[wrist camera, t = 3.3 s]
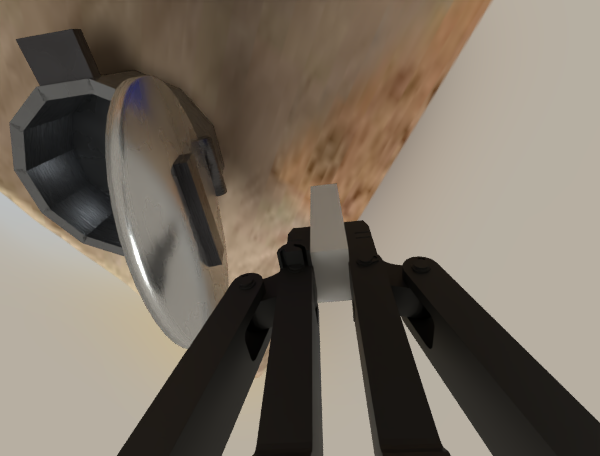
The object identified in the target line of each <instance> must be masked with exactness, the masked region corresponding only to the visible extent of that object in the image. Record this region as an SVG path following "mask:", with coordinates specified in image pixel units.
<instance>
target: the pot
mask: <svg viewBox="0 0 600 456" xmlns="http://www.w3.org/2000/svg"><path fill="white" fill-rule="evenodd" d="M16 41H17V43H18V45H19V47H20V49H21V51H22V52H23V54H24V56H25V58H26V60H27V62H28V64H29V66H30V68H31V70H32V71H33V73H34V75H35V77H36V79H37V81H38V83H39V85H40V86H38V87H36V88H35V89H34V90H33V92H32V93H31V94H30V96H29V97H28V98H27V100H26V101H25V103H24V104H23V105H22V107H21V108H20V109H19V111H18V112H17V113H16V115H15V116H14V117H13V119H12V120H11V121H10V133H11V144H12V154H13V165H14V171H15V172H16V174H17V175H18V177H19V178H20V180H21V181H22V183H23V185H24V186H25V188H26V189H27V191H28V192H29V194H30V195H31V197H32V198H33V200H34V201H35V203H36V205H37V206H38V208H39V209H40V211H41V212H42V213H43V214H44V215H45V216H47V217H48V218H49V219H51V220H52V221H54V222H55V223H56V224H58V225H59V226H60V227H62V228H63V229H64V230H66V231H67V232H68V233H70V234H71V235H72V236H74V237H75V238H76V239H78V240H79V241H80V242H82V243H84V244H87V245H90V246H93V247H96V248H100V249H103V250H106V251H109V252H112V253H116V254H119V255H122V256H124V252H123V249H122V246H121V243H120V240H119V236H118V232H117V228H116V224H115V220H114V215H113V211H112V206H111V200H110V194H109V188H108V181H107V169H106V158H105V133H106V123H107V114H108V110H109V106H110V102H111V99H112V97H113V94H114V92H115V90H116V88H117V87H118V86H119V85H120V84H121V83H122V82H123V81H125V80H127V79H129V78H134V77H140V76H148V75H145V74H143V73H141V72H138V71H136V70H133V71H127V72H120V73H114V74H108V75H102V76H101V75H100V73H99V70H98V68H97V66H96V63H95V61H94V59H93V56H92V54H91V52H90V49H89V47H88V45H87V42H86V40H85V38H84V35H83V33H82V30H81V29H69V30H64V31H58V32H53V33H47V34H42V35H36V36H31V37H25V38H20V39H16ZM164 83H165V82H164ZM165 84H166V85H167V86H168V87H169V88H170V89H171V91H172V92H173V93H174V95H175V96H176V97H177V99H178V101H179V102H180V104H181V105H182V107H183V109H184V111H185V112H186V114H187V116H188V118H189V120H190V122H191V124H192V126H193V129H194V131H195V133H196V136H197V138H198V140H199V143H200V146H201V148H202V151H203V154H204V156H205V159H206V162H207V165H208V169H209V172H210V175H211V178H212V182H213V186H214V189H215V193H216V196H220V195H223V194H225V193H226V192H227V190H226V186H225V183H224V179H223V176H222V173H223V169H224V163H223V159H222V156H221V152H220V148H219V145H218V141H217V138H216V134H215V130H214V127H213V125H212V124H211V123H210V122H209V120H208V119H207V118H206V117H205V116H204V115H203V114H202V113H201V111H200V110H199V109H198V108H197V107H196V106H195V105H194V104H193V103H192V101H191V100H190V99H189V98H188V97H187V96H186V95H185V94H184V92H183V91H182V90H181V89H179V88H177V87H174V86H172V85H169V84H167V83H165Z"/></svg>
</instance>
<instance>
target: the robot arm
mask: <svg viewBox="0 0 600 456" xmlns="http://www.w3.org/2000/svg"><path fill="white" fill-rule="evenodd" d="M277 256H278V260H279V265H280V272H279V273H277V274H275V275H273V276H271V277H268V278H265V279H262V276H260V275H259V274H256V273H247V274H243V275H241V276H239V277H237V278H236V279H235V280H234V281H233V282H232V283H231V285H230V286H229V288H228V289H227V291H226V292H225V294H224V295H223V297H222V298H221V300H220V301H219V303H218V304H217V306H216V307H215V309H214V310H213V312H212V313H211V315H210V316H209V318H208V319H207V321H206V322H205V324H204V325H203V327H202V329H201V330H200V332H199V333H198V335H197V336H196V338H195V339H194V341H193V342H192V344H191V345H190V347H189V348H188V350H187V351H186V353H185V354H184V356H183V357H182V359H181V360H180V362H179V363H178V365H177V366H176V368H175V369H174V371H173V372H172V374H171V375H170V377H169V378H168V380H167V381H166V383H165V384H164V386H163V387H162V389H161V390H160V392H159V393H158V395H157V396H156V398H155V399H154V401H153V402H152V404H151V405H150V407H149V408H148V410H147V411H146V413H145V414H144V416H143V417H142V419H141V420H140V422H139V423H138V425H137V426H136V428H135V429H134V431H133V432H132V434H131V435H130V437H129V438H128V440H127V441H126V443H125V444H124V446H123V447H122V449H121V450H120V452H119V453H118V455H117V456H222V453H223V451H224V448H225V446H226V443H227V441H228V439H229V437H230V434H231V432H232V430H233V427H234V425H235V422H236V420H237V418H238V415H239V413H240V411H241V408H242V406H243V403H244V401H245V398H246V396H247V394H248V392H249V389H250V387H251V384H252V382H253V380H254V377H255V375H256V372H257V370H258V368H259V365H260V363H261V361H262V358H263V356H264V353H265V351H266V349H267V346H268V344H269V342H270V339H271V342H270V349H269V357H268V364H267V372H266V379H265V387H264V394H263V402H262V409H261V417H260V423H259V431H258V438H257V445H256V450H255V453H254V455H252V456H323V435H322V434H323V433H322V403H321V402H322V399H321V368H320V336H319V335H320V333H319V309H318V303H321V302H333V301H346V300H352V305H353V318H354V322H355V327H356V334H357V340H358V347H359V354H360V360H361V367H362V374H363V380H364V387H365V393H366V400H367V407H368V414H369V420H370V427H371V434H372V440H373V447H374V454H375V456H450V453H449V452H448V451H447V450H446V449H445V448H444V447H443V446H442V444H441V441H440V438H439V436H438V432H437V430H436V426H435V423H434V420H433V417H432V414H431V410H430V407H429V404H428V402H427V398H426V395H425V392H424V389H423V386H422V383H421V379H420V376H419V373H418V370H417V367H416V364H415V361H414V358H413V354H412V351H411V348H410V345H409V342H408V339H407V336H406V332H405V329H404V326H403V323H402V320H401V317H402V319H403V321H404V323H405V324H406V326H407V327H408V329H409V330H410V332H411V333H412V335H413V336H414V338H415V339H416V341H417V342H418V344H419V345H420V347H421V348H422V350H423V351H424V353H425V354H426V356H427V357H428V359H429V360H430V362H431V363H432V365H433V366H434V368H435V369H436V371H437V372H438V374H439V375H440V377H441V378H442V380H443V381H444V383H445V384H446V386H447V387H448V389H449V390H450V392H451V393H452V395H453V396H454V398H455V399H456V401H457V402H458V404H459V405H460V407H461V408H462V410H463V411H464V413H465V414H466V416H467V417H468V419H469V420H470V422H471V423H472V425H473V426H474V428H475V429H476V431H477V432H478V434H479V435H480V437H481V438H482V440H483V441H484V443H485V444H486V446H487V447H488V449H489V450H490V452H491V453H492V455H493V456H600V423H599V422H598V421H597V420H596V419H595V418H594V417H593V416H592V415H591V414H590V413H589V412H588V411H587V410H586V409H585V408H584V407H583V406H582V405H581V404H580V403H579V402H578V401H577V400H576V399H575V398H574V397H573V396H572V395H571V394H570V393H569V392H568V391H567V390H566V389H565V388H564V387H563V386H562V385H561V384H560V383H559V382H558V381H557V380H556V379H555V378H554V377H553V376H552V375H551V374H549V373H548V371H547V370H545V369H544V368H543V367H542V366H541V365H540V364H539V363H538V362H537V361H536V360H535V359H534V358H533V357H532V356H531V355H530V354H529V353H528V352H527V351H526V350H525V349H524V348H523V347H522V346H521V345H520V344H519V343H518V342H517V341H516V340H515V339H514V338H513V337H512V336H511V335H510V334H509V333H508V332H507V331H506V330H505V329H504V328H503V327H502V326H501V325H500V324H499V323H498V322H496V320H495V319H493V317H491V315H489V314H488V313H487V312H486V311H485V310H484V309H483V308H482V307H481V306H480V305H479V304H478V303H477V302H476V301H475V300H474V299H473V298H472V297H471V296H470V295H469V294H468V293H467V292H466V291H465V290H464V289H463V288H462V287H461V286H460V285H459V284H458V283H457V282H456V281H455V280H454V279H453V278H452V277H451V276H450V275H449V274H448V273H447V272H446V271H445V270H444V269H443V268H442V267H441V266H440V265H439V264H438V263H436V262H435V261H433V260H432V259H429V258H426V257H411V258H409V259H407V260H406V261H405V262H404V263H403V265H395V264H390V263H387V262H385V261H383V260H382V258H381V257H380V256H379V255H378V254H377V252H376V248H375V245H374V242H373V239H372V236H371V232H370V229H369V226H368V225H367V224H366V223H365V222H364V221H363V220H362V221H352V222H343V216H342V211H341V205H340V199H339V194H338V188H337V183H336V184H328V185H319V186H311V215H310V227H303V228H293V229H292V230H291V232H290V233H289V234H288V242H287V244H286V245H283V246H282V247H281V248H279V249H278V251H277ZM317 300H318V301H317ZM400 316H401V317H400Z"/></svg>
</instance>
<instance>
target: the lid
mask: <svg viewBox="0 0 600 456" xmlns="http://www.w3.org/2000/svg"><path fill="white" fill-rule="evenodd" d="M105 158H106V169H107V181H108V188H109V194H110V200H111V206H112V211H113V215H114V220H115V224H116V228H117V232H118V236H119V240H120V243H121V246H122V249H123V252H124V256H125V259H126V262H127V265H128V267H129V270H130V272H131V275H132V277H133V280H134V283H135V285H136V287H137V289H138V291H139V293H140V295H141V298H142V300H143V302H144V304H145V306H146V307H147V309H148V311H149V312H150V314H151V315H152V317H153V319H154V320H155V322H156V323H157V324H158V326H159V327H160V328H161V330H162V331H163V332H164V334H165V335H166V336H168V338H170V339H171V340H172V341H173V342H174V343H175V344H177V345H179V346H181V347H182V348H186V349H188V348H189V347H190V345H191V344H192V342H193V341H194V339H195V338H196V336H197V335H198V333H199V332H200V330H201V329H202V327H203V325H204V324H205V322H206V321H207V319H208V318H209V316H210V315H211V313H212V312H213V310H214V309H215V307H216V306H217V304H218V303H219V301H220V300H221V298H222V297H223V295H224V294H225V292H226V291H227V289H228V264H227V253H226V245H225V238H224V232H223V226H222V220H221V215H220V210H219V206H218V201H217V197H216V193H215V189H214V186H213V182H212V178H211V175H210V172H209V169H208V165H207V162H206V159H205V156H204V154H203V151H202V148H201V146H200V143H199V140H198V138H197V136H196V133H195V131H194V129H193V126H192V124H191V122H190V120H189V118H188V116H187V114H186V112H185V111H184V109H183V107H182V105H181V104H180V102H179V101H178V99H177V97H176V96H175V95H174V93H173V92H172V91H171V89H170V88H169V87H168V86H167V85H166V84H165V83H164V82H162V81H161V80H160V79H158V78H156V77H154V76H140V77H134V78H129V79H127V80H125V81H123V82H122V83H121V84H120V85H119V86H118V87H117V88H116V90H115V92H114V94H113V97H112V99H111V102H110V106H109V110H108V114H107V123H106V133H105Z"/></svg>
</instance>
